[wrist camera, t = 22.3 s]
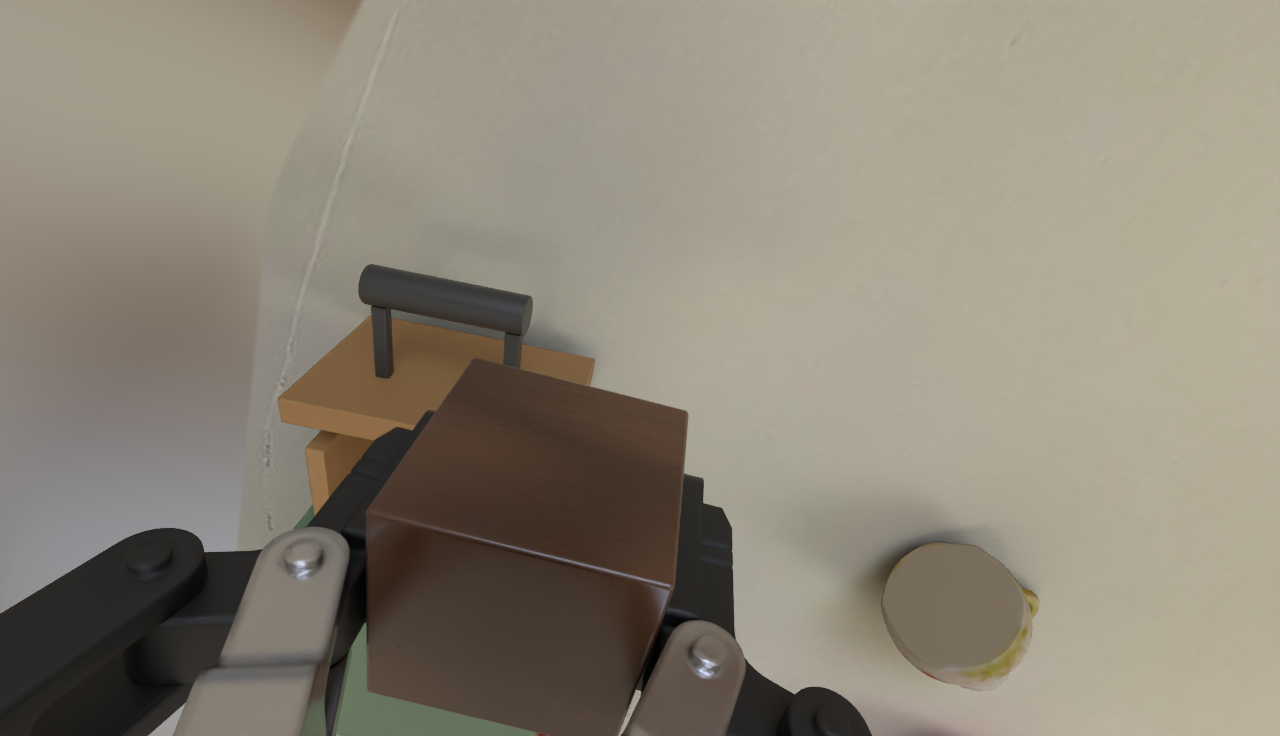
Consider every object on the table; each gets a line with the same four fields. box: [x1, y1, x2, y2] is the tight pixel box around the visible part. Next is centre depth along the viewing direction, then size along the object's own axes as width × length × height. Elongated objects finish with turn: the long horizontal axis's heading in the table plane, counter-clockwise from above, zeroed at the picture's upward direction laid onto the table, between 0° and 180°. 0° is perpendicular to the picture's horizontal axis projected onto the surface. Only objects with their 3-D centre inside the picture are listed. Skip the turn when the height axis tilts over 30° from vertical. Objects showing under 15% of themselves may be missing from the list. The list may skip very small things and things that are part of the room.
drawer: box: [278, 264, 595, 516], centre depth 30 cm, size 18×11×8 cm, turn 170°
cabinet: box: [293, 505, 538, 736], centre depth 35 cm, size 15×13×10 cm
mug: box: [881, 542, 1039, 691], centre depth 35 cm, size 8×10×10 cm
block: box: [366, 358, 688, 736], centre depth 12 cm, size 4×4×4 cm
